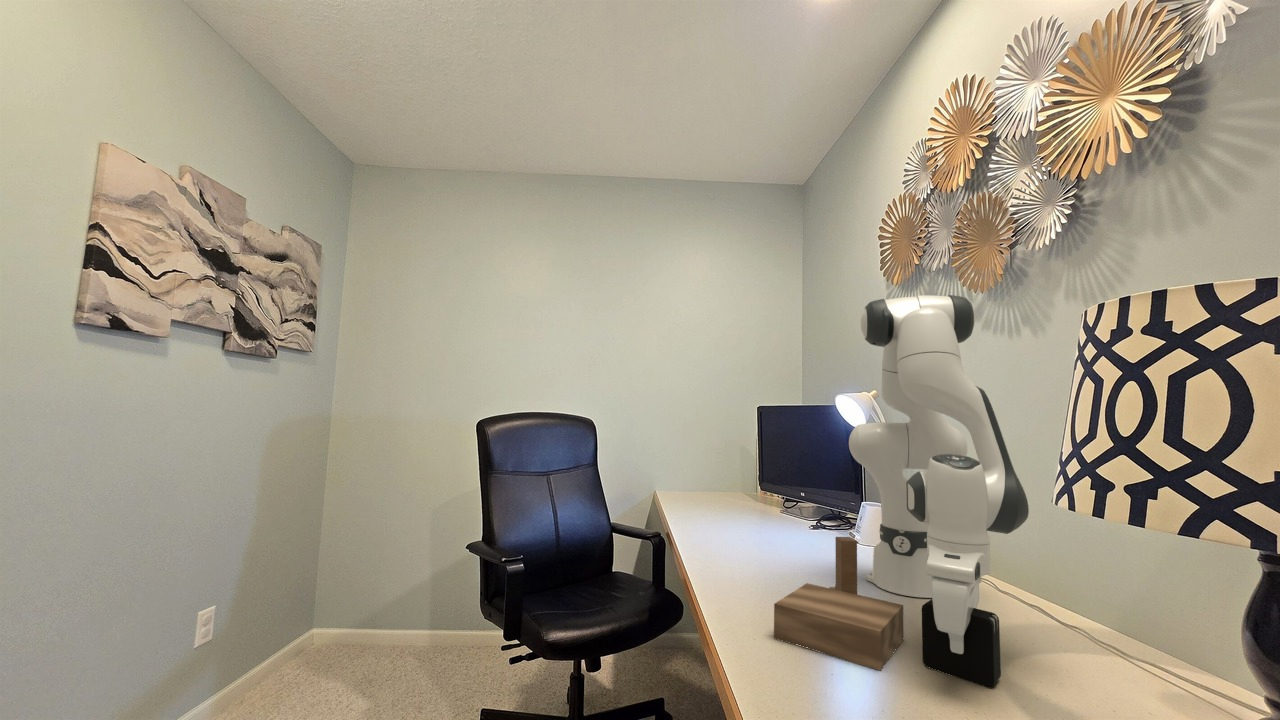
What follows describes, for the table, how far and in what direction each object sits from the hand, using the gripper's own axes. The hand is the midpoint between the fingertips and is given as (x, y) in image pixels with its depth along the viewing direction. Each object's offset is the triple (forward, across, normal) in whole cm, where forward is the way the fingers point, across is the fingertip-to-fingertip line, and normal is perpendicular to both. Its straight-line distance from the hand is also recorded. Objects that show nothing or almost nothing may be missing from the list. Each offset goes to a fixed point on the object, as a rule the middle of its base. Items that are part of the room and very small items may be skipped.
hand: (960, 646), depth 85 cm
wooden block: (+4, -15, -23) cm, 28 cm away
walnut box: (+4, 0, -19) cm, 19 cm away
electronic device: (+4, 0, 0) cm, 4 cm away
